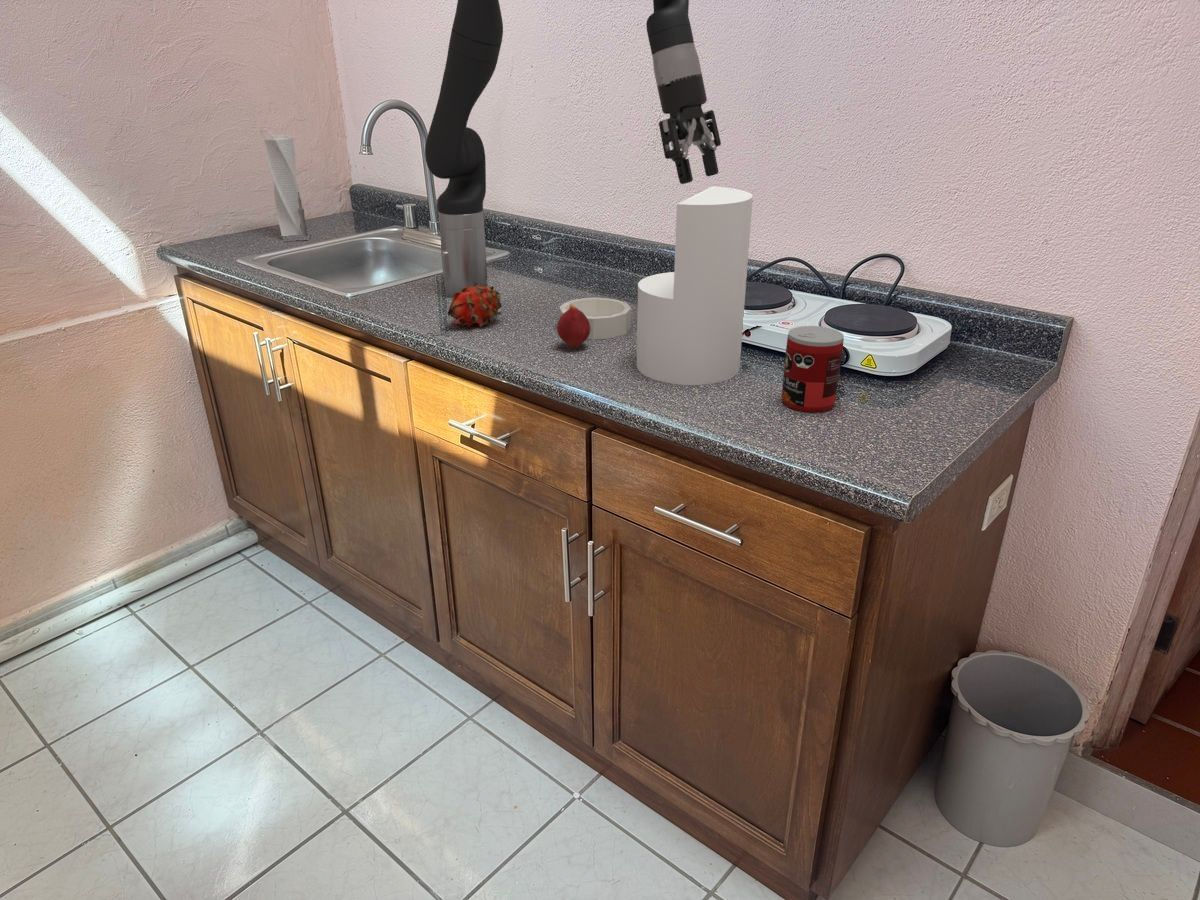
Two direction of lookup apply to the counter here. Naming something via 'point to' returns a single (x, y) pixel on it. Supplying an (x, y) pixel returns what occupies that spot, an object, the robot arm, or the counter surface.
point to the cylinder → (698, 294)
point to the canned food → (812, 368)
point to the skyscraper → (285, 184)
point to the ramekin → (603, 316)
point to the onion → (573, 327)
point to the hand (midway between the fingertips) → (699, 179)
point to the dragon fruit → (475, 305)
